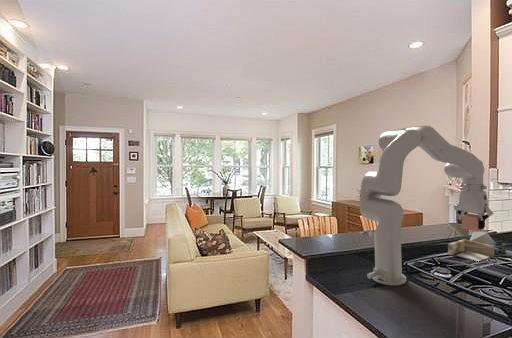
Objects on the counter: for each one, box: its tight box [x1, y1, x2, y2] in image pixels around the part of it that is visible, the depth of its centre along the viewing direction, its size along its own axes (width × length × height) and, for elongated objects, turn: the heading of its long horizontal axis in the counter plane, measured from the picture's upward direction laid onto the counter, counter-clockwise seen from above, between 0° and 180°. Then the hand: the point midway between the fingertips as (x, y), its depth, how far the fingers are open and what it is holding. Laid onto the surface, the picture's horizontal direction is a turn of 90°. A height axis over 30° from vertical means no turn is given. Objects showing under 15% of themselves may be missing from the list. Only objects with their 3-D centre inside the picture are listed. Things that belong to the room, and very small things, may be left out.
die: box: [469, 231, 495, 246], centre depth 140 cm, size 8×9×10 cm
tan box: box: [447, 238, 495, 263], centre depth 133 cm, size 13×12×5 cm
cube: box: [461, 212, 484, 232], centre depth 130 cm, size 6×6×6 cm
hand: (472, 226), depth 131 cm, fingers closed on cube, 6 cm apart
